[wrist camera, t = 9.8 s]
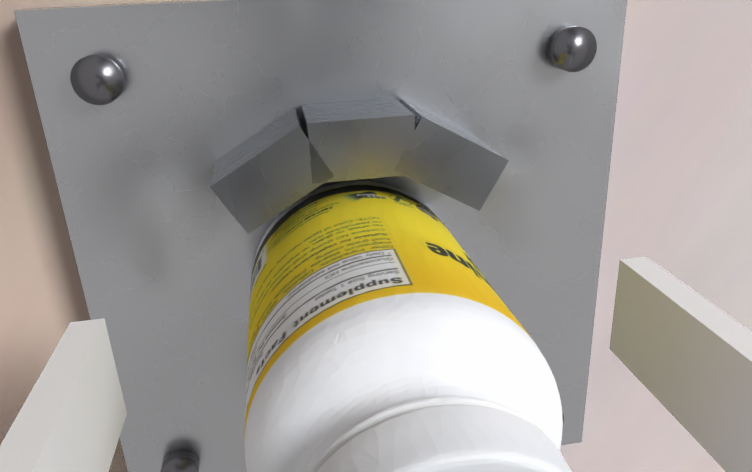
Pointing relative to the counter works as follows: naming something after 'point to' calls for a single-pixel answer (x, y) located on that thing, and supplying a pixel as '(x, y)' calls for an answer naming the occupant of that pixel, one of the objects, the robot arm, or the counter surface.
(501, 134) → the collar
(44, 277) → the counter surface
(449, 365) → the pill bottle
